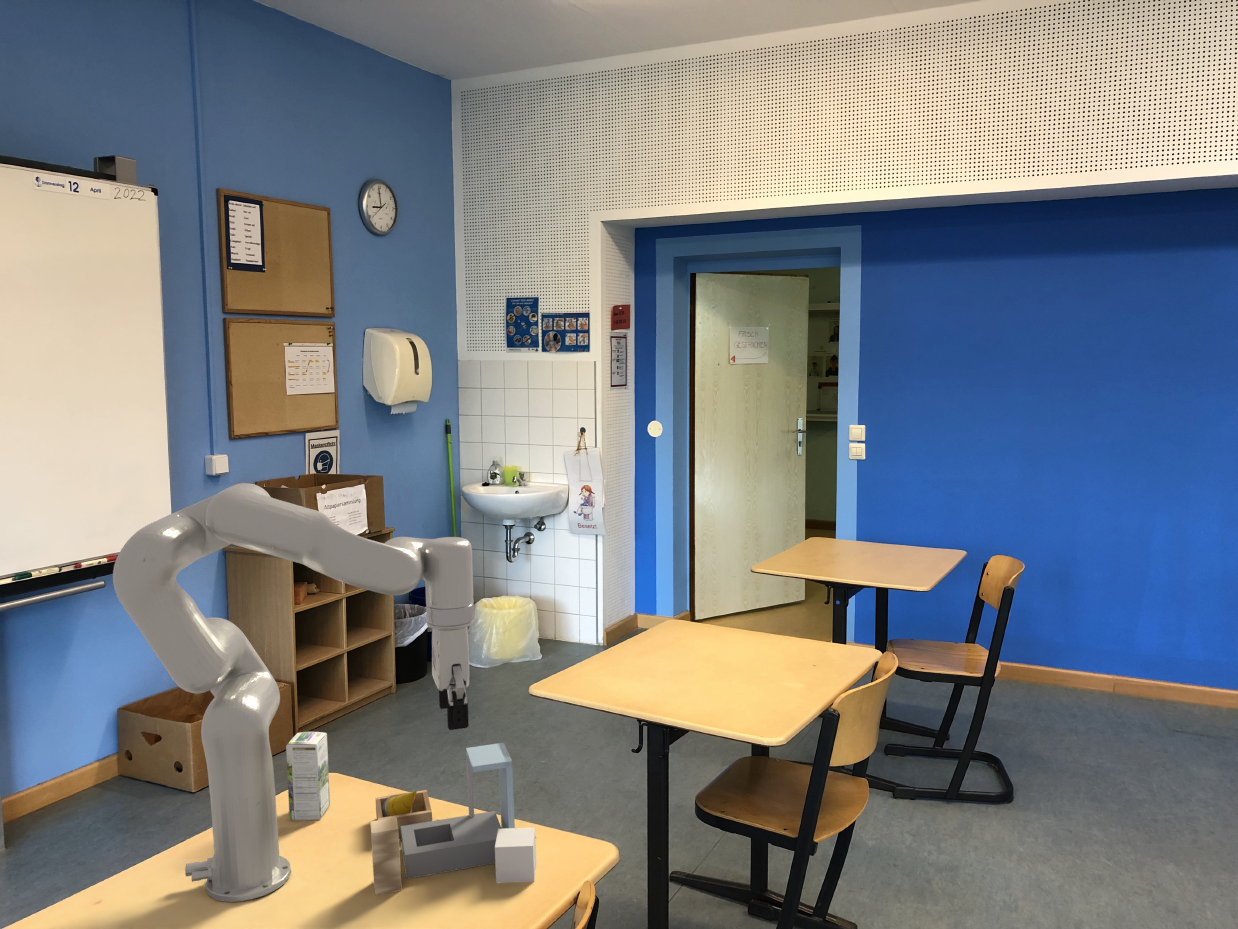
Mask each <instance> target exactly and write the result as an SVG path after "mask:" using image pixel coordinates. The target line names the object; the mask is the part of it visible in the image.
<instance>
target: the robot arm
mask: <svg viewBox="0 0 1238 929" xmlns="http://www.w3.org/2000/svg"><path fill="white" fill-rule="evenodd" d="M230 545H233V546H238V547H241V548H245V549H248V550H252V551H256V552H259V553H262V554H267V555H269V556H272V557H276V558H280V559H284V560H287V561H291V562H294V563H298V564H301V565H304V566H305V567H307V568H308V569H309V568H310V569H311V570H313V571H315V572H317V573H320V574H322V575H325V576H327V577H329V578H331V579H333V580H336V581H338V582H341V583H344V584H346V585H349V586H352V587H353V586H354V587H356V588H360V589H364V590H366V591H367V590H368V591H371V592H375V593H378V594H383V595H389V596H401V595H405V594H407V593H409V592H411V591H413V590H414V589H416V587H417V586H418V584H419V583H420V580H423V581H424V583H425V605H426V606H425V607H426V608H425V611H426V612H425V614H426V626H427V628H430V629H431V631H432V632H431V674H432V678H433V680H434V683H435V686H436V688H437V689H438V698H439V700H438V702H439V705H438V706H439V708H440V710H444V709H446V712H447V714H446V716H447V728H448V731H449V730H450V731H452V730H453V731H454V730H460V729H467V728H469V725H470V724H469V702H468V696H467V688H468V687H469V686H470V653H469V652H470V651H469V650H470V649H469V648H470V647H469V631H468V627H470V626H472V625H473V624H475V611H474V610H475V609H474V608H475V605H474V604H475V603H474V600H475V599H474V570H473V569H474V568H473V549H472V548H473V547H472V543H471V542H470V541H469V540H468V539H467V538H464V537H459V536H446V537H445V536H444V537H437V538H421V537H420V538H419V537H410V536H398V537H396V536H395V537H393V538H390V539H388V540H387V541H385V542H379V541H377V540H376V541H375V540H372V539H368V538H365V537H363V536H360V535H358V534H354V533H353V532H350V531H349V530H346V529H345V528H342V527H341V526H339V525H338V524H337V523H336V522H334V521H333V520H332V519H331V518H330V517H329V516H327V515H326V514H325V513H323V512H321V511H319V510H316V509H312V508H309V507H305V506H301V505H297V504H295V503H292V502H288V501H284V500H280V499H277V498H273V497H271V495H270V494H269V493H268V491H266V490H265V489H264V488H263V487H261V486H259V485H257V484H254V483H250V482H249V483H248V482H241V483H236V484H233V485H231V486H229V487H227V488H225V489H223V490H221V491H219V492H218V493H217V492H216V493H215V494H213V495H211V496H209V497H207V498H205V499H202V500H200V501H198V502H196V503H193V504H191V505H190V506H186V507H184V508H182V509H180V510H177V511H175V512H173V513H171V514H168V515H166V516H163V517H161V518H160V519H158V520H156V521H153V522H151V523H149V524H147V525H145V526H143V527H142V528H140V529H139V530H137V531H136V532H135V533H134V534H133V535H131V536H130V538H128V540H127V541H126V542H125V543H124V545H123V546H122V548H121V549H120V551H119V553H118V554H117V557H116V559H115V562H114V564H113V570H112V582H113V583H112V584H113V588H114V592H115V594H116V598H117V599H118V601H119V603H120V604H121V606H122V608H123V609H124V611H125V612H126V613H127V614H128V616H129V617H130V619H131V620H132V622H133V623H134V624H135V626H136V627H137V628H138V630H139V631H140V633H141V634H142V636H143V638H144V639H145V641H146V642H147V644H148V645H149V647H150V648H151V650H152V651H153V652H154V654H155V656H156V657H157V659H158V660H159V661H160V662H161V664H162V666H163V667H164V669H165V670H166V671H167V673H168V674H169V676H170V678H171V679H172V681H173V682H174V684H176V685H177V686H178V687H179V689H182V690H183V691H185V692H188V693H191V694H202V693H207V692H209V691H210V693H211V694H212V696H213V697H214V698H213V699H211V701H210V703H209V705H208V706H207V708H206V710H205V712H204V714H203V718H202V720H201V721H202V722H201V726H200V728H201V730H200V735H201V742H202V747H203V751H204V756H205V761H206V767H207V777H208V789H209V790H208V791H209V795H210V797H209V798H210V809H211V810H210V811H211V825H212V837H213V838H212V839H213V849H214V850H213V852H214V853H213V857H208V858H207V859H206V860H205V861H204V860H203V861H195V862H194V861H193V862H189V863H185V866H184V875H185V878H186V877H191V882H192V883H193V882H199V881H201V880H205V891H206V893H207V894H208V895H209V897H211V898H212V899H214V900H217V901H219V902H220V901H221V902H226V903H227V902H228V903H229V902H230V903H231V902H233V903H235V902H245V901H249V900H254V899H257V898H261V897H263V896H266V895H269V894H271V893H273V892H274V891H276V890H278V889H279V888H280V887H282V886H283V885H284V884H285V883H286V882H288V880H289V878H290V876H291V872H292V870H291V868H292V867H291V864H290V860H288V859H287V858H285V857H283V856H281V855H280V845H279V829H278V814H277V800H276V786H275V785H276V784H275V775H274V774H275V773H274V771H275V770H274V762H273V756H272V749H271V746H270V745H271V744H270V735H269V734H270V733H269V731H270V730H269V729H270V725H271V723H272V721H273V718H274V717H275V715H276V714H277V711H278V708H279V706H280V702H281V693H280V690H279V686H278V684H277V681H276V680H275V678H274V676H273V674H272V673H271V672H270V670H269V669H268V667H267V666H266V664H265V663H264V661H263V660H262V659H261V657H260V654H258V652H257V651H256V650H255V648H254V646H253V645H252V644H251V642H250V641H249V639H248V638H247V636H246V635H245V634H244V633H243V631H242V630H241V629H240V628H239V627H238V626H237V625H236V624H235V623H233V622H232V621H230V620H228V619H225V618H221V617H212V616H211V617H205V615H204V614H203V612H201V610H200V609H199V607H198V605H197V604H196V602H195V601H194V599H193V597H191V595H190V594H189V593H188V592H186V590H185V589H184V588H183V587H182V586H181V585H180V584H179V583H178V580H177V576H178V575H179V573H180V572H181V571H182V570H184V569H185V568H188V566H190V565H191V564H193V563H195V562H196V561H198V560H200V559H202V558H203V557H206V556H209V555H211V554H213V553H215V552H217V551H219V550H221V549H224V548H226V547H229V546H230Z"/></svg>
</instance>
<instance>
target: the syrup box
mask: <svg viewBox="0 0 1238 929" xmlns="http://www.w3.org/2000/svg"><path fill="white" fill-rule="evenodd" d="M285 746H286V748H285V750H286V767H287V769H286V771H287V775H286V776H287V793H288V812H289V813H288V814H289V821H315V820H318V821H320V820H321V819H322V818H323V816H324V815H325V813H326V812H327V810H328V809H329V807H330V805H331V798H330V797H331V796H330V779H329V778H330V777H329V771H330V770H329V757H328V756H329V754H328V734H327V732H322V731H321V732H319V731H303V732H297V733H296V734H295V735H294V736H292V738H291V739H290V741H288V742H287V744H286V745H285Z"/></svg>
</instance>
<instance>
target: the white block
mask: <svg viewBox="0 0 1238 929" xmlns="http://www.w3.org/2000/svg"><path fill="white" fill-rule="evenodd" d="M536 840H537V839H536V827H530V826H529V827H515V828H505V829H498V833H497V838H496V844H495V863H494V864H495V883H496V884H505V883H506V884H507V883H508V884H509V883H530V882H533V883H534V882H535V879H536V868H537V867H536V866H537V850H536V848H537V845H536V844H537V843H536V842H537V841H536Z"/></svg>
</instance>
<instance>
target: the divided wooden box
mask: <svg viewBox="0 0 1238 929" xmlns="http://www.w3.org/2000/svg"><path fill="white" fill-rule="evenodd" d="M416 791H417V790H416ZM411 792H412V791H410V792H405V793H398V794H397V793H396V794H395V795H399V796H400V795H404V794H407V793H411ZM428 794H429V793H428V790H427V789H423V790H418V791H417V793H416V796H415V799H414V802H413V806H412V813H408V814H402V815H396V816H390V817H384V815H383V811H382V807H383V804H384V802H385V801H386V800H387V799H388V798H389V797H390V796H392V795H393V794H389V795H385V796H378V797H374V798H375V813H376V821H377V820H383V819H390V818H396V817H397V824H398V833H399V840H401V826H405V825H411V824H418V823H424V822H430V821H433V813H432V812H433V811H432V807H431V803H430V798H429V795H428Z"/></svg>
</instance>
